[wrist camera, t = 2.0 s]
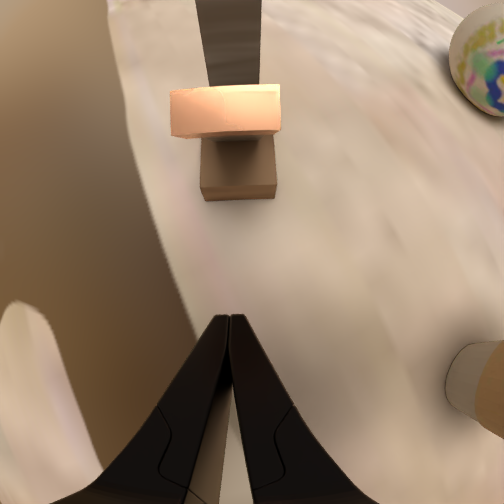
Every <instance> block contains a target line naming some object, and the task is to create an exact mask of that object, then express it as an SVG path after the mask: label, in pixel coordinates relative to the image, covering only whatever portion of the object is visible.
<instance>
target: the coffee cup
mask: <svg viewBox="0 0 504 504" xmlns="http://www.w3.org/2000/svg"><path fill="white" fill-rule="evenodd" d="M445 391H446V396H447V399H448V401H449V402H450V404H451V405H452V406H454V407H455V408H456V409H458V410H460V411H461V412H463V413H465V414H466V415H468V416H470V417H471V418H473V419H475V420H476V421H478V422H479V423H480V424H481V425H482V426H483V427H484V428H486V429H487V430H489V431H491V432H492V433H494V434H496V435H497V436H499V437H501V438H503V439H504V340H500V341H492V342H483V343H474V344H470V345H468V346H466V347H465V348H463V349H462V350H461V351H460V352H459V354H458V355H457V356H456V358H455V359H454V361H453V363H452V365H451V367H450V369H449V372H448V375H447V379H446V386H445Z"/></svg>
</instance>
